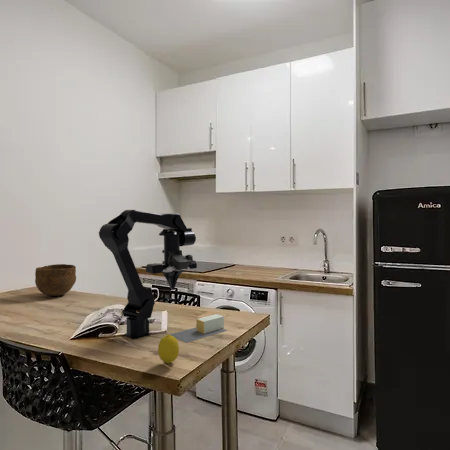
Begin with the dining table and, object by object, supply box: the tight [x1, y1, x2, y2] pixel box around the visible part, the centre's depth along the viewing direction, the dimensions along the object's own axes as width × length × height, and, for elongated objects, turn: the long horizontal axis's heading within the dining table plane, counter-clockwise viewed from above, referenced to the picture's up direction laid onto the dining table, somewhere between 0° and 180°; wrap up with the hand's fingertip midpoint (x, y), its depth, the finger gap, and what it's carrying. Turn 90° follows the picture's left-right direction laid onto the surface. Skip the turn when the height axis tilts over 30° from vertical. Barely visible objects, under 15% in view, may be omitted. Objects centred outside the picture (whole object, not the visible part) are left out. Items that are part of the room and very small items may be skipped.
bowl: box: [34, 263, 77, 297], centre depth 175 cm, size 19×19×15 cm
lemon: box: [157, 333, 180, 365], centre depth 93 cm, size 6×6×8 cm
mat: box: [169, 326, 228, 344], centre depth 117 cm, size 17×10×1 cm, turn 131°
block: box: [195, 313, 225, 334], centre depth 120 cm, size 4×4×9 cm
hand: (172, 289), depth 128 cm, fingers closed
